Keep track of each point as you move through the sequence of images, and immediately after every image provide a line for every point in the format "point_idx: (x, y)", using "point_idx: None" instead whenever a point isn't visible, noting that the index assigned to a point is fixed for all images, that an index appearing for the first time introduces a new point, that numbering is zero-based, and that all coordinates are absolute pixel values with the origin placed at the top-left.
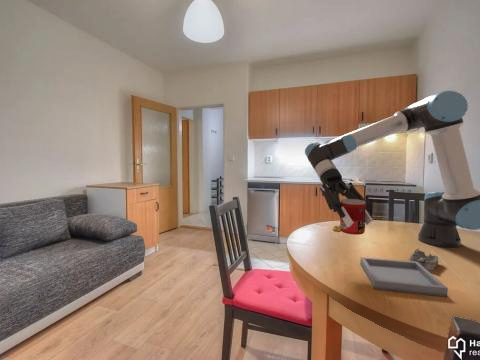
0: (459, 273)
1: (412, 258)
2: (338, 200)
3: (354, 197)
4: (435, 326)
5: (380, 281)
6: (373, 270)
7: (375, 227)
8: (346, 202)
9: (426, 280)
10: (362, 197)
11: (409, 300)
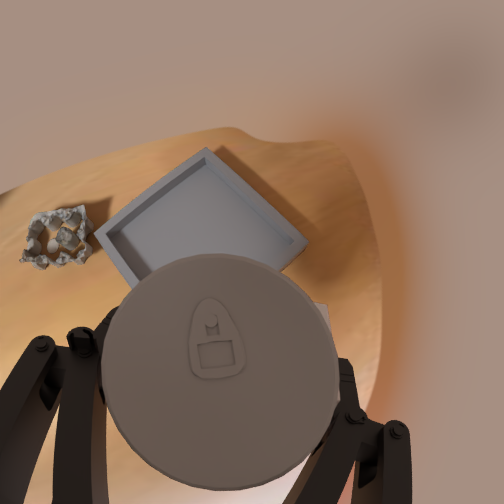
0: (72, 183)
1: (70, 256)
2: (332, 465)
3: (89, 424)
4: (325, 146)
5: (299, 232)
6: None
7: None
8: (337, 371)
9: (169, 195)
10: (14, 374)
11: (284, 189)
